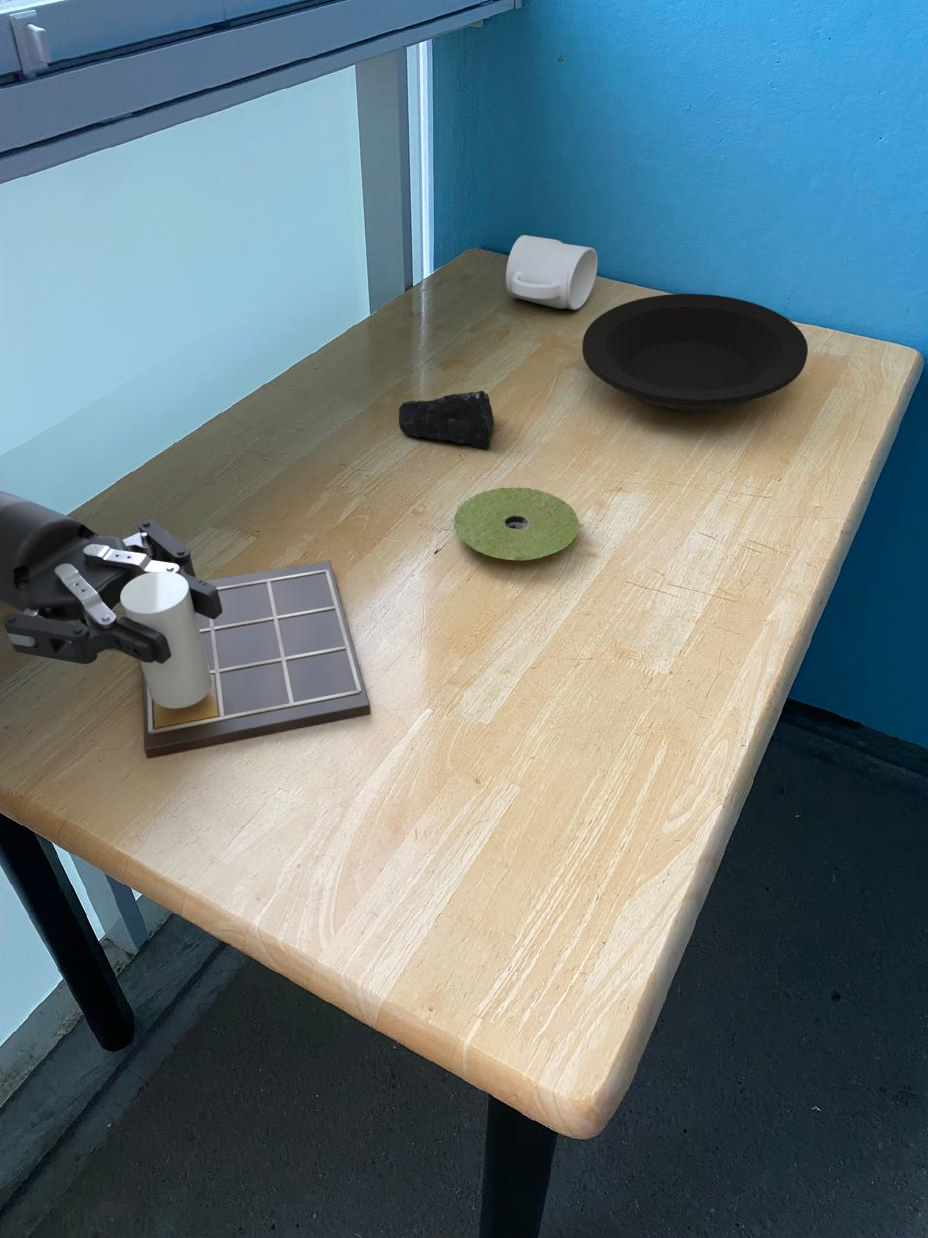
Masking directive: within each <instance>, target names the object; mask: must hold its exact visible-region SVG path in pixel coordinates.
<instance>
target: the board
mask: <svg viewBox="0 0 928 1238" xmlns="http://www.w3.org/2000/svg"><path fill="white" fill-rule="evenodd" d="M204 581H205V582H207V583H210V584H212V585H214V586H215V587H216V588H217V590H218V595H219V597H220V602H221V606H222V611H223V612H222V614H220V615H219V616H218V617H217V618H216V619H210V618H208V617H206V616H203V615H201V614H199V613H196V612H195V613H196V617H197V621H198V625H199V629H200V633H201V637H202V641H203V645H204V649H205V653H206V657H207V661H208V665H209V669H210V673H211V677H212V687H211V689H210V691H209V693H208V694H207V695H206V696H205V697H204V698H203V699H202V700H201V701H199V702H197V703H196V704H193V705H191V706H188V707H184V708H177V709H173V708H166V707H162V706H160V705H158V704H157V703H156V702H154V700H153V699H152V697H151V695H150V692H149V689H148V685H147V682H146V679H145V676H144V673H143V670H142V669H141V674H142V679H141V680H142V715H143V719H142V721H143V750H144V753H145V757H146V758H147V759H153V758H157V757H162V756H167V755H172V754H177V753H182V752H186V751H192V750H197V749H202V748H206V747H212V746H218V745H222V744H223V745H224V744H227V743H233V742H238V741H243V740H247V739H252V738H253V739H254V738H258V737H262V736H267V735H271V734H277V733H283V732H287V731H293V730H297V729H302V728H307V727H312V726H317V725H322V724H323V725H324V724H328V723H332V722H337V721H338V722H339V721H343V720H348V719H352V718H358V717H363V716H368V715H371V713H372V711H371V703H370V700H369V697H368V694H367V690H366V686H365V682H364V678H363V674H362V671H361V668H360V664H359V660H358V656H357V652H356V649H355V646H354V642H353V640H352V636H351V631H350V627H349V624H348V621H347V617H346V613H345V610H344V606H343V602H342V597H341V595H340V591H339V588H338V584H337V581H336V577H335V574H334V570H333V567H332V562H331V560H323V561H318V562H312V563H306V564H300V565H293V566H287V567H281V568H280V567H279V568H275V569H274V568H273V569H269V570H263V571H256V572H250V573H245V574H238V575H233V576H226V577H221V578H215V579H208V580H204Z"/></svg>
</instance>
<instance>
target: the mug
mask: <svg viewBox="0 0 928 1238" xmlns="http://www.w3.org/2000/svg"><path fill="white" fill-rule="evenodd" d="M597 270H598V254H597V251H596V249H594V248H593V247H588V246H583V245H575V244H569V243H563V242H562V241H560V240H558V239H553V238H546V237H539V236H534V235H526V234H522V235H520V236H519V237H518V238H517V240H516V241H515V242H514V243H513V246H512V248H511V250H510V253H509V256H508V259H507V264H506V272H505V284H506V290H507V294H508V295H509V296H510V297H512V298H515V299H518V300H522V301H526V302H530V303H535V304H539V305H543V306H546V307H551V308H554V309H560V310H562V309H563V310H564V309H569V310H574V311H577V310H579V309H580V308H582V307H583V306H584V305H585V303H586V302H587V300H588V299H589V297H590V295H591V292H592V290H593V288H594V285H595V281H596V277H597V272H598V271H597Z"/></svg>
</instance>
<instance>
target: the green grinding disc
mask: <svg viewBox="0 0 928 1238" xmlns="http://www.w3.org/2000/svg"><path fill="white" fill-rule="evenodd" d="M453 527H454V530H455V532H456V535H457V536H458V537H459V538H460V539H461V541H462V542H463V543H465V544H466V545H467V546H468V547H470V548H471V549H472V550H475V551H476V552H479V553H482V554H483V555H486V556H489V557H491V558H492V557H493V558H496V559H501V560H502V559H503V560H510V561H530V560H531V561H532V560H537V559H541V558H542V557H547V556H550V555H552V554H557V552H559V551H561V550H563V549H565V548H566V547H568V546H569V545H570V544H571V543H572V542H573V541H574V539H575V538H576V537H577V534H578V531H579V527H580V523H579V518H578V516H577V513H576V512H575V510H574V508H573V507H571V505H569V504H568V503H567V502H566V501H565V500H563V499H561V498H560V497H558V496H555V495H553V494H551V493H549V492H546V491H542V490H539V489H535V488H531V487H520V486H517V487H513V486H511V487H501V488H500V487H499V488H496V489H490V490H487V491H486V490H485V491H482V492H480V493H476V494H475V495H473V496H472V497H469V498H468V499H467V500H465V501H464V502H462V503H461V504H460V505H459V507H458V509H457V510H456V512H455V515H454V518H453Z"/></svg>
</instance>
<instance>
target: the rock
mask: <svg viewBox="0 0 928 1238" xmlns="http://www.w3.org/2000/svg"><path fill="white" fill-rule="evenodd" d="M490 403H491V401H490V397H489V394H488V393H487V392H485V391H484V390H479V391H469V392H459V393H452V394H449V395H444V396H442V397H438V398H435V399H432V400H409V401H403V402H402V403H401V405H400V406H399V407H398V426H399V428H400V430H401V432H402V433H403V434H404V435H408V436H412V437H417V438H427V439H432V440H438V441H448V440H449V441H451V442H452V443H457V444H468V445H470V446H472V447H475V448H477V449H481V450H485V451H488V450H489V448H490V446H491V438H492V434H493V431H494V430H493V428H494V426H495V418H494V413H493V409H492V405H491V404H490Z"/></svg>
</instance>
